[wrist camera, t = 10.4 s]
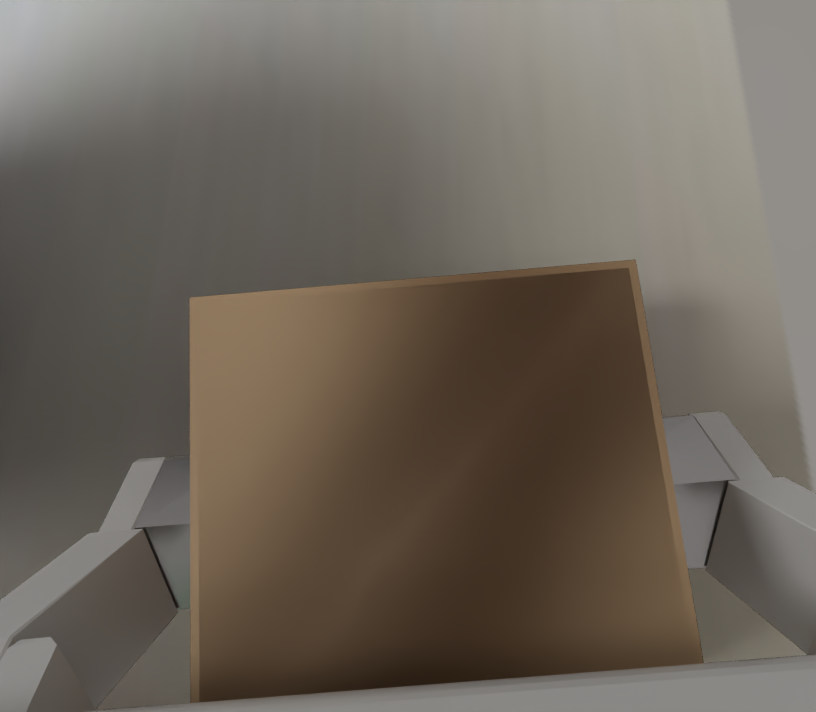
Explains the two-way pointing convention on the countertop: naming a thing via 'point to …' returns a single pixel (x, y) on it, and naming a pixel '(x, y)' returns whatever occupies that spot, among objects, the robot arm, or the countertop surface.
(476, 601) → the crate
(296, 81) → the countertop surface
